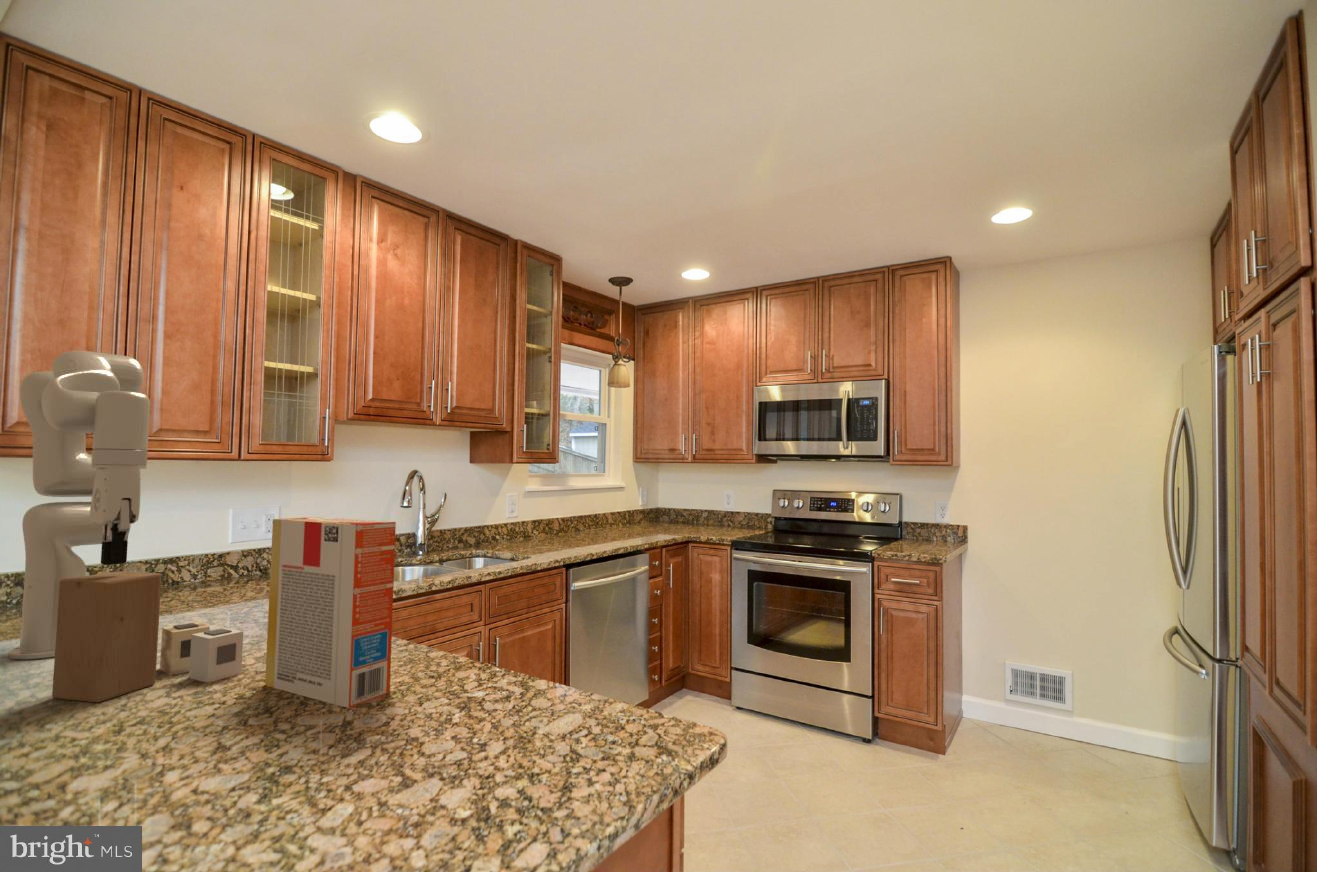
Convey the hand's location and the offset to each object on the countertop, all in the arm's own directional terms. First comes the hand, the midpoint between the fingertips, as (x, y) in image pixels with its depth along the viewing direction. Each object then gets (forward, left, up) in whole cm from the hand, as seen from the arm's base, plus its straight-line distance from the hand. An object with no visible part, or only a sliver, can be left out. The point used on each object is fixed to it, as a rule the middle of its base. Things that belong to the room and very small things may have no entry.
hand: (113, 563), depth 112 cm
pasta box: (+29, +24, -22) cm, 44 cm away
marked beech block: (-5, +13, -22) cm, 26 cm away
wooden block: (0, 0, -22) cm, 22 cm away
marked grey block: (+5, +15, -22) cm, 27 cm away
